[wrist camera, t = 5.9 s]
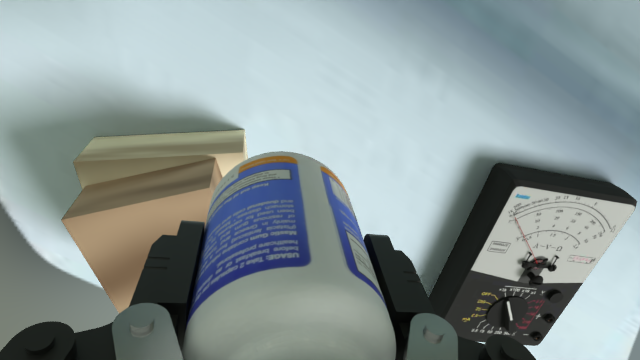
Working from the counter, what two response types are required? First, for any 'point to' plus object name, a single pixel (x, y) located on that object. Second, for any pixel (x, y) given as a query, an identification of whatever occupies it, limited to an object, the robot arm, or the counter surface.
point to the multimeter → (526, 252)
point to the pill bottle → (285, 270)
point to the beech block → (157, 153)
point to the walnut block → (137, 220)
